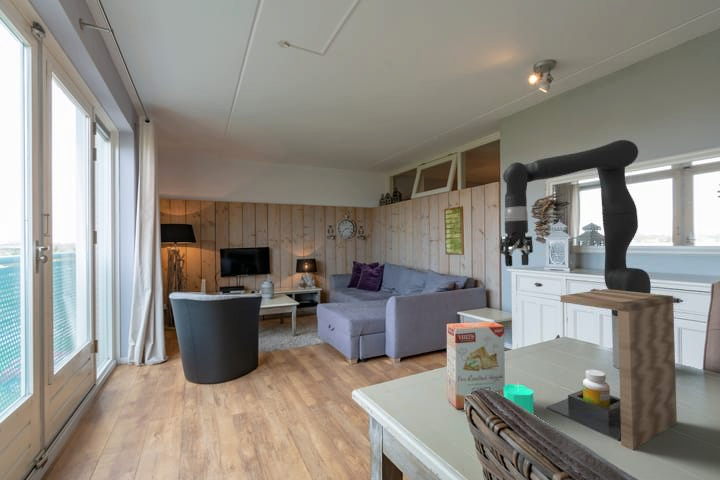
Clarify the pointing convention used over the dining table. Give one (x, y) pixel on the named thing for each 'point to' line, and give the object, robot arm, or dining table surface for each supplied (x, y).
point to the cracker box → (474, 359)
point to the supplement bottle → (596, 388)
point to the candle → (520, 396)
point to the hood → (641, 360)
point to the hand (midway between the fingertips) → (517, 265)
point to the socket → (591, 413)
